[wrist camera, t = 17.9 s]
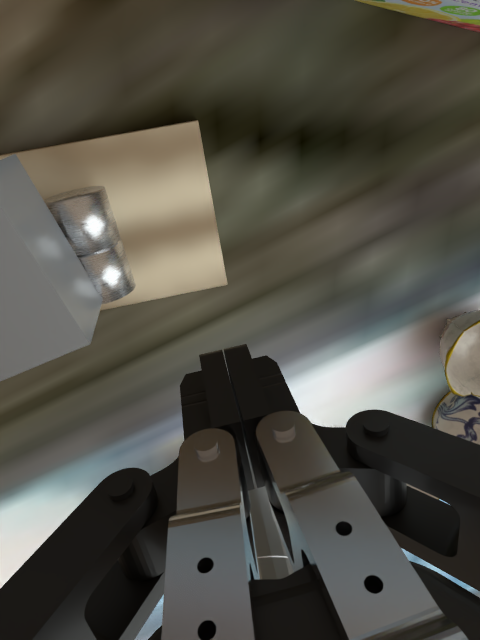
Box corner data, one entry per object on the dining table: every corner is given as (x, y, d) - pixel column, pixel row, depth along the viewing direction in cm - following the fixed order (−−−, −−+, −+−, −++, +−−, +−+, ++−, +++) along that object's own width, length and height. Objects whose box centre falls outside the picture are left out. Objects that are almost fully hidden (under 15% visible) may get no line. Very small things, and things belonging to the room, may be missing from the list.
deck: (225, 279, 36) (243, 332, 28) (-131, 351, 34) (-218, 429, 27) (197, 119, 31) (209, 130, 23) (-231, 195, 29) (-381, 235, 21)
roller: (77, 310, 30) (82, 288, 34) (136, 295, 31) (134, 275, 34) (37, 208, 27) (47, 195, 30) (103, 193, 27) (105, 182, 31)
